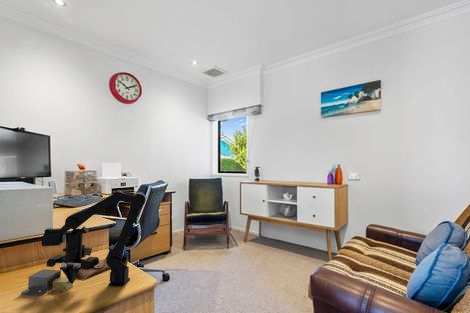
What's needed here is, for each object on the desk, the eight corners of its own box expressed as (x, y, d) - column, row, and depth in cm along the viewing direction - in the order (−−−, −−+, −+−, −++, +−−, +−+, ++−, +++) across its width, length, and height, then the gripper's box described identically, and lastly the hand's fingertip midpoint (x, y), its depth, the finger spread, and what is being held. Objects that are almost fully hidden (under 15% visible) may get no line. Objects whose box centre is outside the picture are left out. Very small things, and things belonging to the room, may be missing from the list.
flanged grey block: (65, 280, 103) (66, 267, 103) (40, 295, 91) (41, 281, 91) (48, 279, 104) (49, 266, 104) (21, 294, 92) (21, 279, 92)
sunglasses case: (83, 280, 103) (78, 265, 104) (74, 285, 105) (70, 271, 107) (119, 265, 119) (115, 252, 120) (111, 270, 121) (107, 257, 123)
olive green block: (73, 286, 98) (73, 277, 98) (66, 291, 95) (66, 282, 95) (59, 285, 99) (59, 277, 99) (52, 290, 95) (52, 281, 95)
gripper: (107, 239, 104) (106, 275, 104) (68, 237, 106) (66, 272, 105) (90, 248, 93) (88, 288, 93) (46, 245, 95) (44, 285, 94)
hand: (72, 283), depth 96 cm, fingers closed
